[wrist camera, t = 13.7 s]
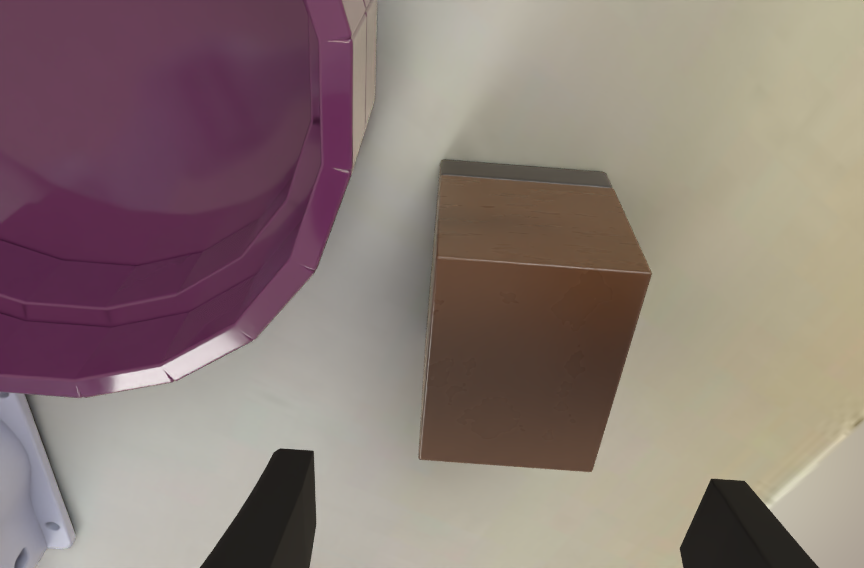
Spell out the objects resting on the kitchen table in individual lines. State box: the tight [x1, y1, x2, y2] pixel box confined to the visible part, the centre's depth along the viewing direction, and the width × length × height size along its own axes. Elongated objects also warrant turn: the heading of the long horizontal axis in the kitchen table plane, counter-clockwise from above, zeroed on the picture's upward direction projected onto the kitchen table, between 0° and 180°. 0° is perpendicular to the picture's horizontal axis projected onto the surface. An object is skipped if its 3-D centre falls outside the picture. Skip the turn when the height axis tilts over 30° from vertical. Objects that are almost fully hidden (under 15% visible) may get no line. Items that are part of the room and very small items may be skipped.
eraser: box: [418, 160, 652, 472], centre depth 17 cm, size 6×4×5 cm
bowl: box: [0, 0, 377, 398], centre depth 14 cm, size 15×15×5 cm
